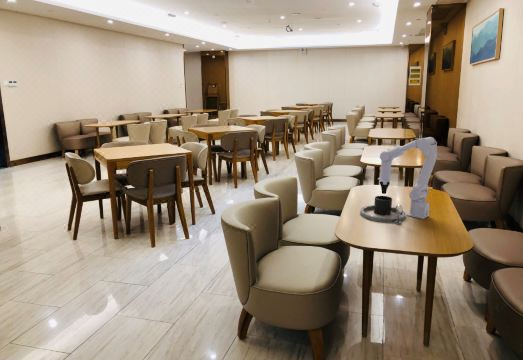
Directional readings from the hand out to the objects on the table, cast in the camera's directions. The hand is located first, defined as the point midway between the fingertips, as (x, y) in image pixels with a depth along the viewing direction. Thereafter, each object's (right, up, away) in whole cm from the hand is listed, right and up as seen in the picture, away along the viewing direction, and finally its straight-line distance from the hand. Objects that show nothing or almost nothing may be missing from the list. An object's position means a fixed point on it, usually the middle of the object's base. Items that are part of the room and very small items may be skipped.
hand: (383, 193), depth 244 cm
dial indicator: (-1, -15, -27) cm, 31 cm away
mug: (-3, -11, -9) cm, 15 cm away
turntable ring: (-5, -12, -14) cm, 19 cm away
